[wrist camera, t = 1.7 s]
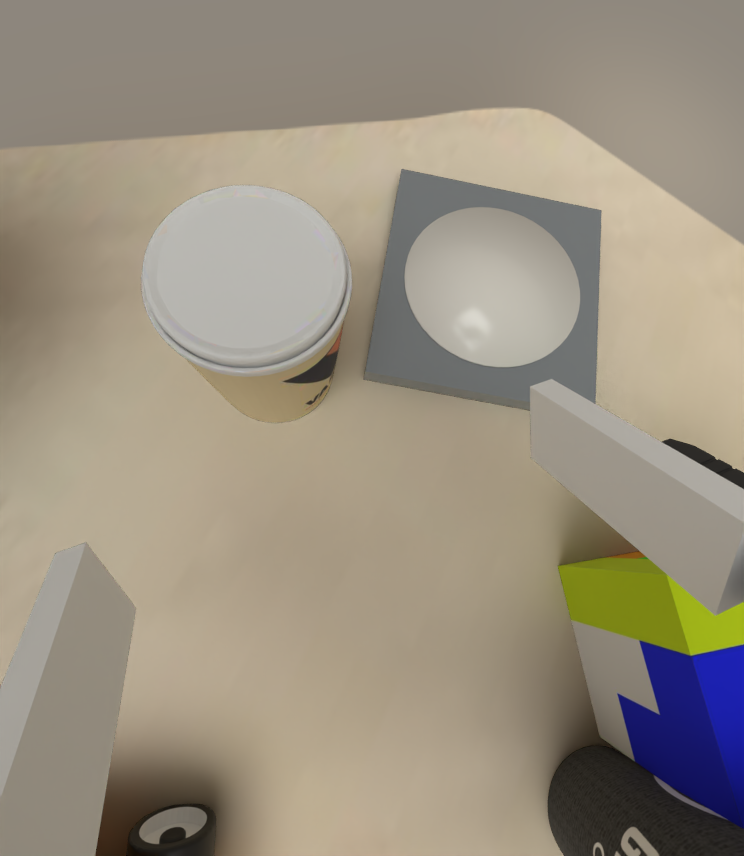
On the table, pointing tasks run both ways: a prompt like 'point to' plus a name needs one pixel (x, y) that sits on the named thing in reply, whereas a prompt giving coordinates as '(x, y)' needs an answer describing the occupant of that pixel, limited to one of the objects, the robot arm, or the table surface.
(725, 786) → the puzzle toy
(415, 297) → the gray square plate
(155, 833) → the orange toy car
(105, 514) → the table surface
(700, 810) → the coffee cup
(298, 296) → the coffee cup
